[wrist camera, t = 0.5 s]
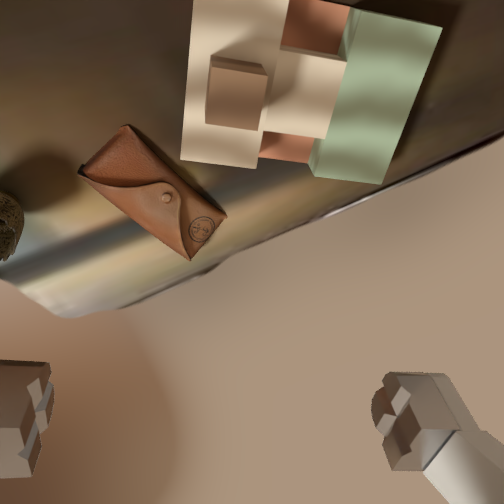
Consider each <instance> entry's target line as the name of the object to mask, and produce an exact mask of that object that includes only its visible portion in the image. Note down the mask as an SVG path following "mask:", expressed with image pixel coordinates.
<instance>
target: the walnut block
mask: <svg viewBox="0 0 504 504" xmlns="http://www.w3.org/2000/svg"><path fill="white" fill-rule="evenodd" d="M267 80H268V75H267V73H266V71H265V70H264V68H263V66H262V64H259V63H253V62H247V61H242V60H236V59H230V58H224V57H219V56H213V55H210V64H209V73H208V82H207V91H206V100H205V124H210V125H217V126H224V127H231V128H238V129H245V130H252V131H258V127H259V122H260V117H261V111H262V106H263V101H264V95H265V90H266V85H267Z"/></svg>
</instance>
